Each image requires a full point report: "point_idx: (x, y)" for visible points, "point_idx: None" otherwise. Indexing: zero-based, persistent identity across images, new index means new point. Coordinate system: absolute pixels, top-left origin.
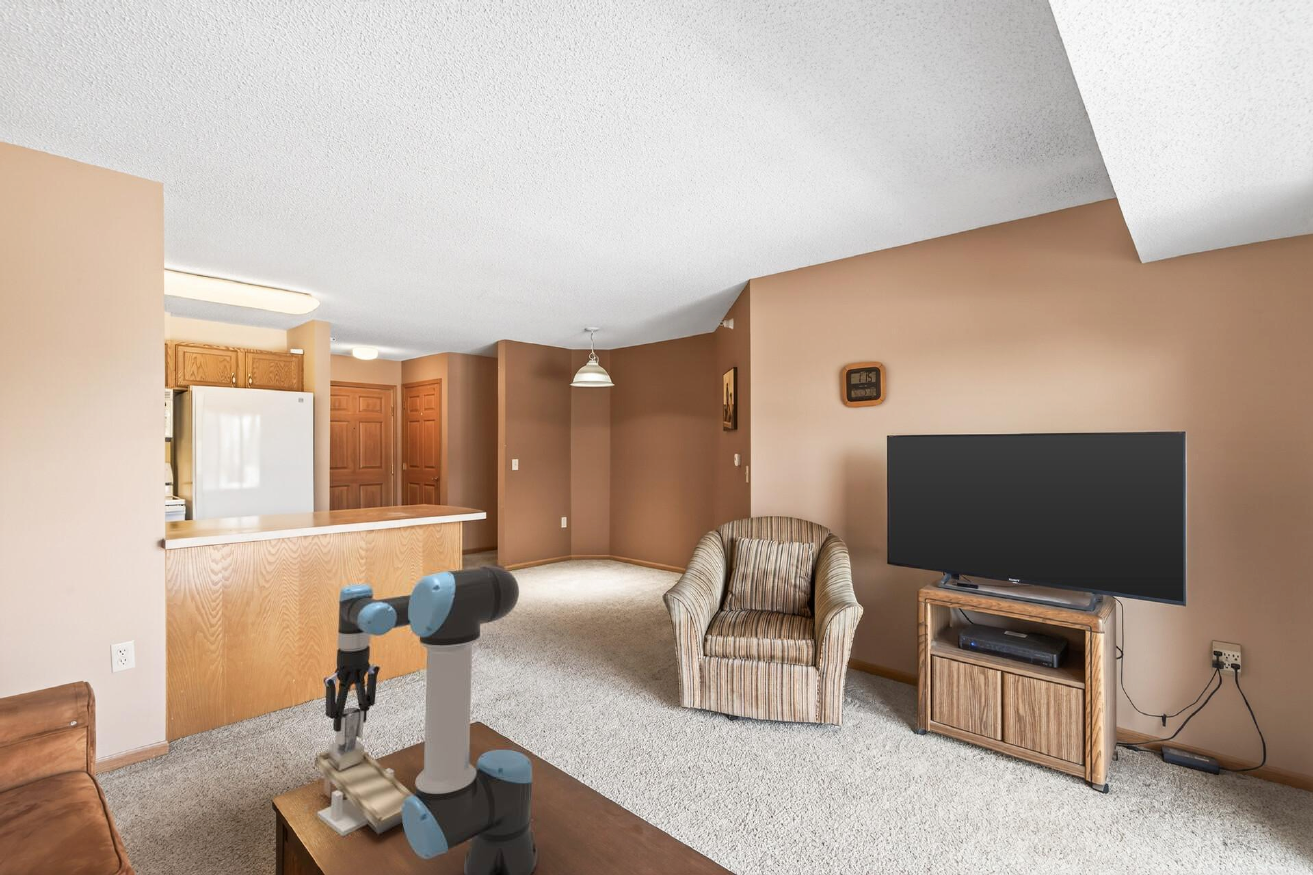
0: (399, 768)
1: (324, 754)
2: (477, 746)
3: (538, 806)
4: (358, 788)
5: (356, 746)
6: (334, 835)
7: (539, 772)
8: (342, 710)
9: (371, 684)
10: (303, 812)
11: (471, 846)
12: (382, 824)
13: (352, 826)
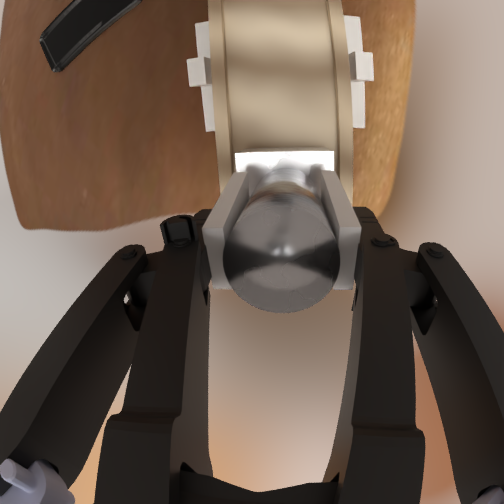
0: (147, 180)
1: None
2: (26, 161)
3: None
4: (310, 41)
5: (260, 170)
6: (367, 34)
7: (6, 23)
8: (374, 265)
9: (67, 374)
10: (372, 165)
11: None
12: None
13: None
